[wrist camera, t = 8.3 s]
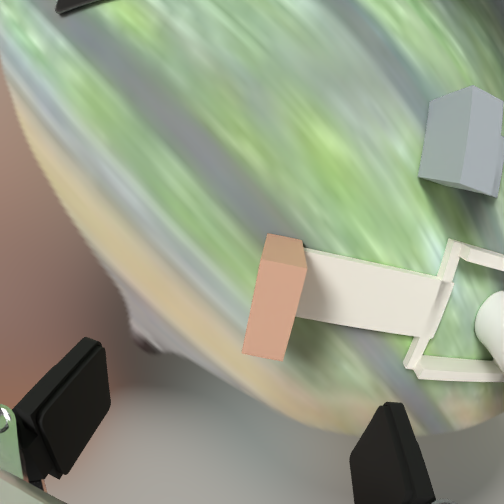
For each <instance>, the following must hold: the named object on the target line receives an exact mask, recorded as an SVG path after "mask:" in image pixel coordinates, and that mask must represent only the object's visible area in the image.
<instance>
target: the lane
mask: <svg viewBox="0 0 504 504" xmlns="http://www.w3.org/2000/svg"><path fill="white" fill-rule="evenodd" d="M460 257H461V258H463V259H464V260H466V261H468V262H472V263H476V264H479V265H483V266H487V267H490V268H494V269H497V270H501V271H504V255H503V254H500V253H496V252H493V251H490V250H487V249H484V248H480V247H477V246H474V245H470V244H467V243H464V242H460V241H457V240H453V239H450V238H448V242H447V245H446V248H445V252H444V255H443V258H442V262H441V265H440V268H439V271H438V274H437V276H433V275H428V274H424V273H419V272H415V271H410V270H406V269H401V268H397V267H392V266H388V265H383V264H379V263H374V262H369V261H365V260H360V259H355V258H351V257H346V256H341V255H337V254H332V253H327V252H322V251H318V250H313V249H308V248H303V243H302V240H298V239H294V238H289V237H284V236H279V235H274V234H269V233H267V237H266V241H265V245H264V249H263V253H262V256H261V261H260V265H259V270H258V275H257V280H256V285H255V290H254V295H253V300H252V305H251V310H250V315H249V320H248V324H247V329H246V334H245V339H244V344H243V349H242V353H243V354H247V355H252V356H257V357H262V358H267V359H273V360H278V361H283V358H284V355H285V351H286V348H287V344H288V341H289V337H290V333H291V330H292V326H293V322H294V319H295V317H300V318H306V319H311V320H316V321H322V322H327V323H333V324H339V325H345V326H351V327H357V328H363V329H369V330H375V331H382V332H388V333H395V334H402V335H408V336H414V338H413V340H412V343H411V345H410V347H409V350H408V352H407V354H406V356H405V358H404V361H403V364H404V366H405V368H406V369H413V370H414V371H415V373H416V375H417V377H418V379H428V380H444V381H468V382H504V373H503V372H502V370H501V369H500V367H499V366H498V364H497V363H496V361H495V360H494V358H493V360H492V361H486V360H472V359H460V358H448V357H438V356H428V355H423V353H424V350H425V348H426V346H427V344H428V341H429V339H433V337H434V335H435V332H436V330H437V328H438V325H439V323H440V320H441V318H442V315H443V313H444V310H445V308H446V305H447V302H448V300H449V297H450V294H451V292H452V289H453V286H454V283H453V282H452V280H453V277H454V274H455V271H456V268H457V265H458V262H459V259H460Z"/></svg>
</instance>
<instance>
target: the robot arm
mask: <svg viewBox="0 0 504 504" xmlns="http://www.w3.org/2000/svg"><path fill="white" fill-rule="evenodd" d="M110 405H111V399H110V392H109V383H108V374H107V364H106V352H105V348H103V347H102V345H101V343H100V342H99V341H96V340H93V339H90V338H87V337H84V338H83V339H82V340H81V341H80V342H79V343H78V344H77V345H76V346H75V347H74V348H73V349H72V350H71V351H70V352H69V353H68V354H67V355H66V356H65V357H64V358H63V359H62V360H61V361H60V362H59V363H58V364H57V365H55V366H54V367H52V368H51V370H49V371H48V372H47V373H46V375H45V376H44V377H43V378H42V379H41V380H40V381H39V382H38V383H37V384H36V385H35V386H34V387H33V388H32V389H31V390H30V391H29V392H28V393H27V394H26V395H25V396H24V398H23V399H22V400H21V401H20V402H19V403H18V404H17V405H16V406H15V407H14V408H13V409H12V410H11V409H10V408H8V407H7V406H5V405H2V404H0V504H67V503H65V502H63V501H61V500H59V499H57V498H55V497H53V496H51V495H50V494H48V493H47V489H46V485H45V481H44V479H45V478H46V476H47V475H48V474H50V475H52V476H54V477H56V478H57V479H60V478H61V476H62V475H63V474H64V475H66V474H68V473H69V471H70V470H71V468H72V467H73V465H74V463H75V462H76V460H77V458H78V457H79V456H80V454H81V452H82V451H83V449H84V448H85V446H86V444H87V443H88V441H89V440H90V438H91V437H92V435H93V434H94V432H95V431H96V429H97V427H98V426H99V424H100V423H101V421H102V420H103V418H104V417H105V415H106V414H107V412H108V411H109V408H110ZM350 469H351V476H352V485H353V494H354V503H355V504H457V503H455V502H454V501H452V500H449V499H439V500H436V498H435V495H434V492H433V488H432V485H431V482H430V478H429V475H428V472H427V469H426V466H425V463H424V460H423V457H422V454H421V451H420V448H419V445H418V443H417V441H416V438H415V436H414V433H413V430H412V427H411V424H410V421H409V419H408V416H407V413H406V411H405V408H404V405H403V404H402V403H396V402H386V403H384V405H383V406H379V407H378V409H377V411H376V413H375V414H374V416H373V418H372V420H371V421H370V423H369V425H368V426H367V428H366V430H365V431H364V433H363V435H362V436H361V438H360V440H359V441H358V443H357V445H356V446H355V448H354V449H353V451H352V453H351V455H350Z"/></svg>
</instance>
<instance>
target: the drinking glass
mask: <svg viewBox="0 0 504 504" xmlns="http://www.w3.org/2000/svg"><path fill="white" fill-rule="evenodd" d="M475 333H476V336H477V338H478V339H479V340H480V342H481V343H482V344H483V345H484V346H485V347H486V348H487V350H488V351H489V352H490V354H491V355H492V357H493V358H494V360H495V361H496V363H497V364H498V366H499V367H500V369H501V370H502V372H503V373H504V291H498V292H495V293H493V294H492V295H491V296H489V297H488V298H487V299H486V300H485V301H484V302H483V304H482V305H481V307H480V309H479V311H478V313H477V316H476V319H475Z"/></svg>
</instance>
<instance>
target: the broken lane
mask: <svg viewBox="0 0 504 504" xmlns="http://www.w3.org/2000/svg"><path fill="white" fill-rule="evenodd" d="M503 103H504V101H502V100H500V99H498V98H497V97H495V96H493V95H491V94H489V93H487V92H485V91H483V90H482V89H480V88H478V87H476V86H474V85H471V86H469V87H466V88H463V89H460V90H458V91H455V92H452V93H449V94H447V95H444V96H442V97H439V98H436V99H434V100H431V101H430V104H429V112H428V119H427V126H426V133H425V139H424V145H423V151H422V156H421V162H420V167H419V172H418V177H420V178H423V179H426V180H429V181H432V182H435V183H438V184H441V185H444V186H449V187H454V188H459V189H463V190H468V191H473V192H477V193H482V194H486V195H488V196H491V197H495V198H497V196H498V191H499V186H500V181H501V175H502V169H503V163H504V137H503V136H501V128H502V117H503Z"/></svg>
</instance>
